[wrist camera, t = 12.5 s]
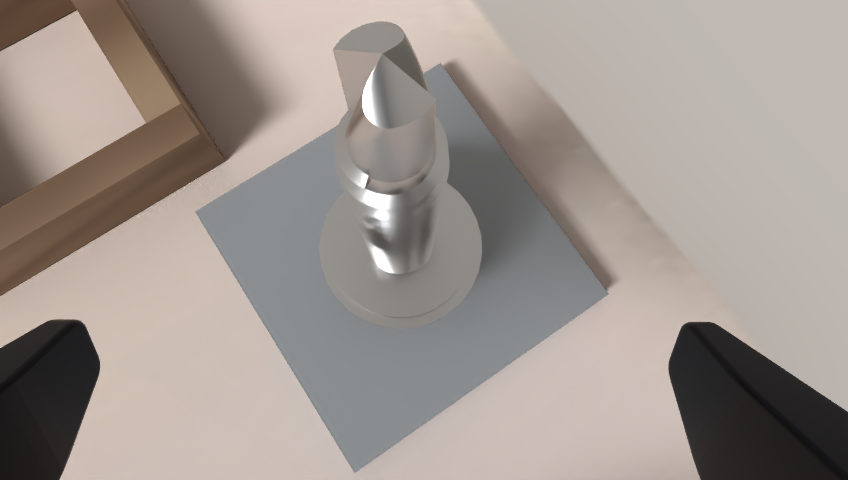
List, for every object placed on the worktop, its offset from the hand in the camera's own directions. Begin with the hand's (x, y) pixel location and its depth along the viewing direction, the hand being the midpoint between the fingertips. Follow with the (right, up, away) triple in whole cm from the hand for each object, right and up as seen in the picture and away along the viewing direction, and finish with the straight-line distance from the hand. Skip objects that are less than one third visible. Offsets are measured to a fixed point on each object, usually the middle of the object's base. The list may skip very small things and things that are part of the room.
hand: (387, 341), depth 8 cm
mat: (0, +1, +11) cm, 11 cm away
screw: (0, +1, +10) cm, 10 cm away
